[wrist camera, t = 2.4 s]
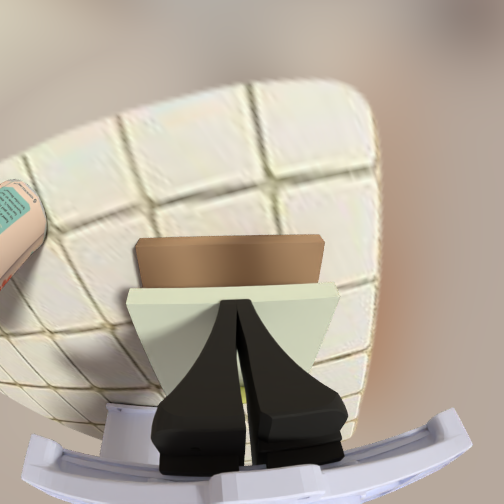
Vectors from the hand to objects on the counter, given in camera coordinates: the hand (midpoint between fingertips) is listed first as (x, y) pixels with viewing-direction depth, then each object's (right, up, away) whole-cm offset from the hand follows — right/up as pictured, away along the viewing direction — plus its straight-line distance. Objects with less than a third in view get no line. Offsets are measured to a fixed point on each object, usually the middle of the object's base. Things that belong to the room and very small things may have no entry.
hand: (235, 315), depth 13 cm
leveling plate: (0, -4, +4) cm, 5 cm away
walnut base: (-1, -2, +6) cm, 6 cm away
